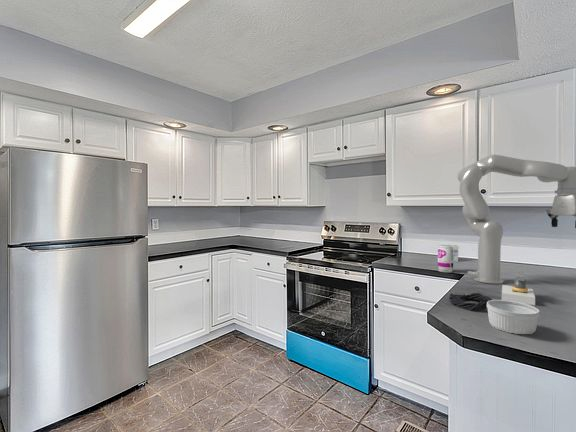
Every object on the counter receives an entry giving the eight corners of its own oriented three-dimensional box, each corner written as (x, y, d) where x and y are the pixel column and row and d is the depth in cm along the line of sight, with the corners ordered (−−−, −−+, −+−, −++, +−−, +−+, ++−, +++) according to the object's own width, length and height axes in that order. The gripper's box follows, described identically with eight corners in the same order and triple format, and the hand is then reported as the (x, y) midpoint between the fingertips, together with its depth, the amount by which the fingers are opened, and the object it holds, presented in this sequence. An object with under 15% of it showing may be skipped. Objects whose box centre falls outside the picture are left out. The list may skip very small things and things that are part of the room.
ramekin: (547, 340, 86) (547, 316, 86) (492, 333, 91) (492, 310, 90) (529, 323, 98) (530, 302, 98) (482, 318, 103) (482, 297, 103)
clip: (516, 280, 123) (516, 276, 123) (515, 274, 133) (515, 271, 133) (524, 281, 121) (524, 277, 121) (523, 275, 131) (523, 271, 131)
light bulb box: (441, 260, 218) (441, 245, 217) (440, 259, 224) (441, 244, 224) (458, 261, 213) (458, 246, 213) (457, 260, 220) (457, 245, 219)
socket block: (501, 300, 123) (502, 280, 123) (502, 291, 136) (502, 273, 136) (535, 305, 117) (535, 284, 117) (532, 295, 130) (532, 276, 130)
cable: (493, 315, 107) (493, 303, 106) (448, 308, 113) (448, 297, 113) (489, 302, 122) (489, 291, 121) (449, 297, 128) (449, 286, 128)
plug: (511, 298, 125) (512, 279, 125) (511, 295, 129) (512, 277, 129) (527, 301, 122) (528, 281, 122) (527, 298, 126) (527, 278, 126)
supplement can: (444, 273, 175) (445, 247, 174) (434, 270, 183) (434, 245, 182) (456, 272, 177) (456, 246, 177) (445, 269, 185) (445, 244, 184)
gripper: (542, 192, 155) (541, 226, 156) (584, 191, 139) (582, 228, 139) (552, 193, 157) (550, 226, 158) (595, 192, 141) (593, 228, 142)
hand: (565, 227), depth 149 cm, fingers open, 9 cm apart
